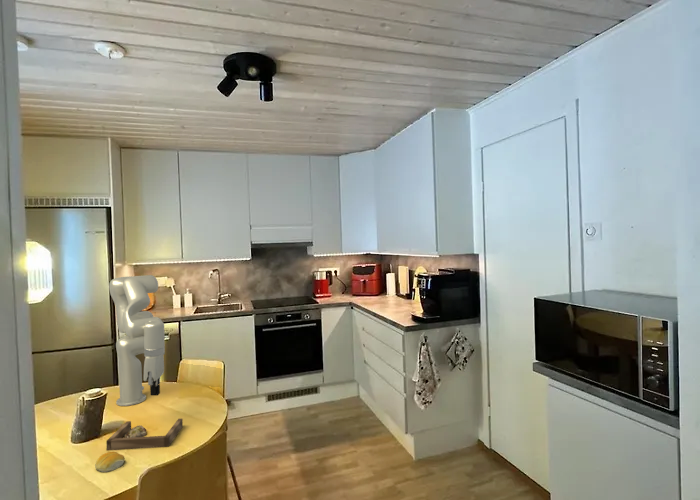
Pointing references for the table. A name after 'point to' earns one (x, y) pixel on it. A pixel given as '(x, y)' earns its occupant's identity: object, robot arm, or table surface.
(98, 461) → the bread roll
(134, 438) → the dark wooden frame
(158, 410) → the table surface
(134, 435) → the mineral rock
